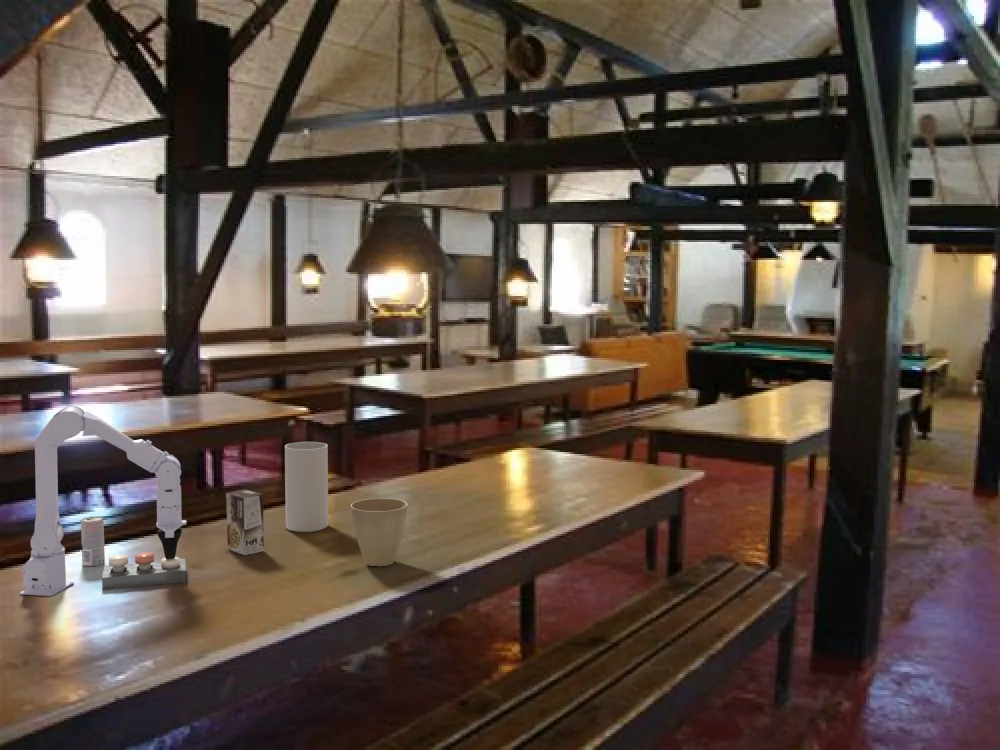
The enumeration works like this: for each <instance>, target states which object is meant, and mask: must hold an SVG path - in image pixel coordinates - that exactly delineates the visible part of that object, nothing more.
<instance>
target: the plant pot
mask: <svg viewBox="0 0 1000 750" xmlns="http://www.w3.org/2000/svg"><path fill="white" fill-rule="evenodd" d="M408 505H409V504H408V503H407V502H406V501H405V500H403V499H397V498H387V497H382V498H381V497H379V498H378V497H377V498H366V499H361V500H356V501H354V502H352V503H351V504H350V510H351V517H352V523H353V528H354V533H355V536H356V540H357V544H358V547H359V550H360V552H361V556H362V558H363V561H364V563H365V565H366V564H367V566H368V565H370V566H369V567H371V566H380V567H379V568H382V567H381V566H386V567H388V566H387V565H389V566H391V565H390V564H392V565H393V564H394V563H395V560H396V557H397V554H398V551H399V549H400V546H401V541H402V538H403V534H404V529H405V523H406V520H407V511H408ZM393 562H394V563H393Z"/></svg>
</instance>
